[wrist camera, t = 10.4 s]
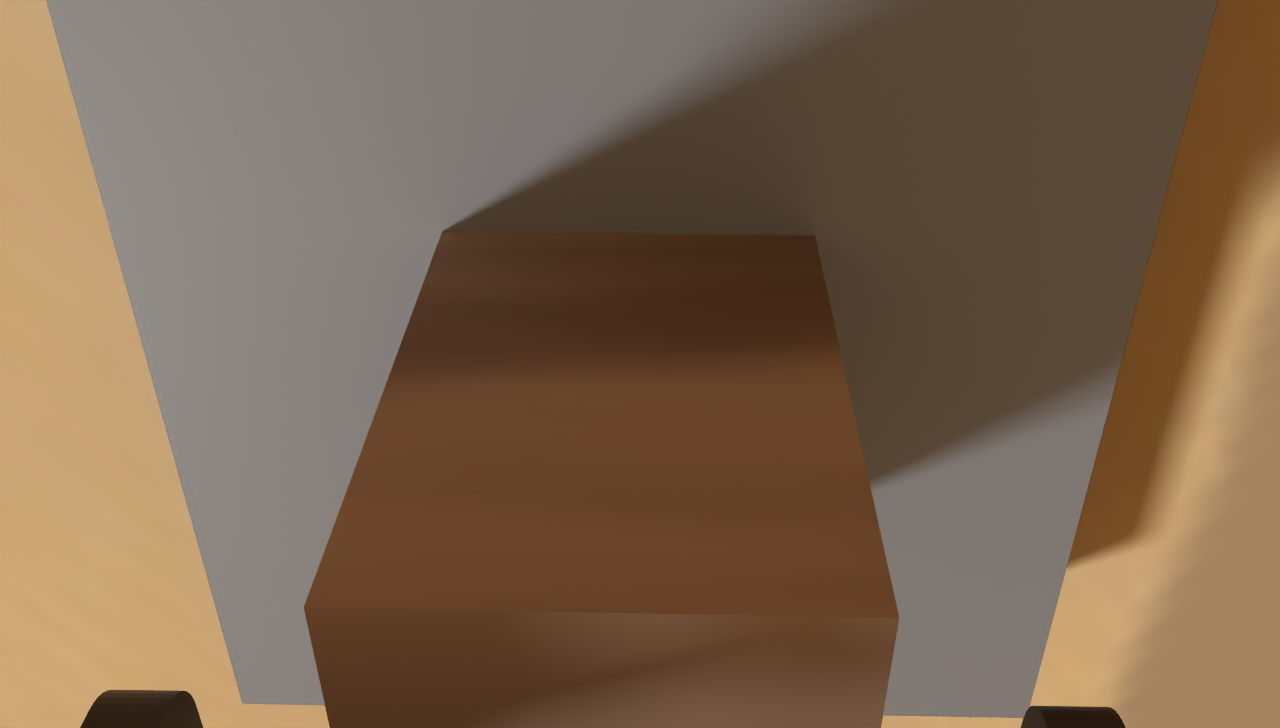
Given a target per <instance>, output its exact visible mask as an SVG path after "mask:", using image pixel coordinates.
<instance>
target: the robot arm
mask: <svg viewBox="0 0 1280 728" xmlns="http://www.w3.org/2000/svg"><path fill="white" fill-rule="evenodd" d="M80 728H203V726H202V723H201V719H200V716H199V713H198V710H197V707H196V704H195V702H194V699H193V697H192V696H191V694H189V693H188V692H186V691H154V690H108V691H106V692H104V693H102V694H101V695H100V696H99V697H98V698H97V699H96V700H95V702H94V703H93V705H92V707H91V708H90V710H89V712H88V714H87V716H86V718H85V720H84V722H83V723H82V725H81V727H80ZM1021 728H1125V726H1124V723H1123V721H1122V720H1121V718H1120V716H1119V715H1118V714H1117V712H1116V711H1115V710H1113V709H1112V708H1110V707H1071V706H1031V707H1029V708H1028V709H1027V711H1026V713H1025V715H1024V718H1023V722H1022V726H1021Z"/></svg>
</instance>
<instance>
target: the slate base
mask: <svg viewBox="0 0 1280 728" xmlns="http://www.w3.org/2000/svg"><path fill="white" fill-rule="evenodd" d="M46 1H47V5H48V8H49V12H50V16H51V19H52V23H53V26H54V30H55V33H56V37H57V41H58V44H59V48H60V51H61V55H62V59H63V62H64V66H65V69H66V73H67V76H68V80H69V84H70V87H71V91H72V94H73V98H74V102H75V105H76V109H77V112H78V116H79V119H80V123H81V127H82V130H83V134H84V137H85V141H86V145H87V148H88V152H89V155H90V159H91V162H92V166H93V170H94V173H95V177H96V180H97V184H98V188H99V191H100V195H101V198H102V202H103V205H104V209H105V213H106V216H107V220H108V223H109V227H110V231H111V234H112V238H113V241H114V245H115V248H116V252H117V256H118V259H119V263H120V266H121V270H122V274H123V277H124V281H125V284H126V288H127V291H128V295H129V299H130V302H131V306H132V309H133V313H134V317H135V320H136V324H137V327H138V331H139V334H140V338H141V342H142V345H143V349H144V352H145V356H146V360H147V363H148V367H149V370H150V374H151V377H152V381H153V385H154V388H155V392H156V395H157V399H158V403H159V406H160V410H161V413H162V417H163V420H164V424H165V428H166V431H167V435H168V438H169V442H170V446H171V449H172V453H173V456H174V460H175V463H176V467H177V471H178V474H179V478H180V481H181V485H182V488H183V492H184V496H185V499H186V503H187V506H188V510H189V514H190V517H191V521H192V524H193V528H194V531H195V535H196V539H197V542H198V546H199V549H200V553H201V557H202V560H203V564H204V567H205V571H206V574H207V578H208V582H209V585H210V589H211V592H212V596H213V600H214V603H215V607H216V610H217V614H218V617H219V621H220V625H221V628H222V632H223V635H224V639H225V643H226V646H227V650H228V653H229V657H230V660H231V664H232V668H233V671H234V675H235V678H236V682H237V686H238V689H239V693H240V696H241V700H242V703H243V704H288V705H325V703H324V698H323V694H322V689H321V684H320V680H319V675H318V671H317V666H316V662H315V657H314V652H313V648H312V643H311V639H310V634H309V630H308V625H307V620H306V616H305V611H304V605H305V602H306V600H307V597H308V594H309V591H310V589H311V586H312V583H313V581H314V578H315V575H316V572H317V570H318V567H319V564H320V562H321V559H322V556H323V553H324V551H325V548H326V545H327V543H328V540H329V537H330V534H331V532H332V529H333V526H334V524H335V521H336V518H337V515H338V513H339V510H340V507H341V505H342V502H343V499H344V496H345V494H346V491H347V488H348V486H349V483H350V480H351V477H352V475H353V472H354V469H355V467H356V464H357V461H358V458H359V456H360V453H361V450H362V448H363V445H364V442H365V439H366V437H367V434H368V431H369V429H370V426H371V423H372V420H373V418H374V415H375V412H376V410H377V407H378V404H379V401H380V399H381V396H382V393H383V391H384V388H385V385H386V382H387V380H388V377H389V374H390V372H391V369H392V366H393V363H394V361H395V358H396V355H397V353H398V350H399V347H400V344H401V342H402V339H403V336H404V334H405V331H406V328H407V325H408V323H409V320H410V317H411V315H412V312H413V309H414V306H415V304H416V301H417V298H418V296H419V293H420V290H421V287H422V285H423V282H424V279H425V277H426V274H427V271H428V268H429V266H430V263H431V260H432V257H433V255H434V252H435V249H436V247H437V244H438V241H439V238H440V236H441V233H442V231H447V232H536V233H625V234H714V235H803V236H815V238H816V242H817V247H818V251H819V256H820V260H821V265H822V269H823V274H824V278H825V283H826V288H827V292H828V297H829V301H830V306H831V310H832V315H833V319H834V324H835V328H836V333H837V337H838V342H839V346H840V351H841V356H842V360H843V365H844V369H845V374H846V378H847V383H848V387H849V392H850V396H851V401H852V405H853V410H854V415H855V419H856V424H857V428H858V433H859V437H860V442H861V446H862V451H863V455H864V460H865V464H866V469H867V473H868V478H869V483H870V487H871V492H872V496H873V501H874V505H875V510H876V514H877V519H878V523H879V528H880V532H881V537H882V541H883V546H884V551H885V555H886V560H887V564H888V569H889V573H890V578H891V582H892V587H893V591H894V596H895V600H896V605H897V609H898V614H899V623H898V629H897V635H896V641H895V647H894V653H893V659H892V665H891V671H890V677H889V682H888V688H887V694H886V700H885V706H884V712H883V715H894V716H949V717H1004V718H1024V715H1025V713H1026V711H1027V709H1028V708H1029V706H1030V703H1031V699H1032V695H1033V691H1034V688H1035V684H1036V680H1037V676H1038V673H1039V669H1040V665H1041V661H1042V658H1043V654H1044V650H1045V646H1046V643H1047V639H1048V635H1049V631H1050V628H1051V624H1052V620H1053V616H1054V613H1055V609H1056V605H1057V601H1058V598H1059V594H1060V590H1061V586H1062V583H1063V579H1064V575H1065V571H1066V568H1067V564H1068V560H1069V556H1070V553H1071V549H1072V545H1073V541H1074V538H1075V534H1076V530H1077V526H1078V523H1079V519H1080V515H1081V511H1082V508H1083V504H1084V500H1085V496H1086V493H1087V489H1088V485H1089V481H1090V478H1091V474H1092V470H1093V466H1094V463H1095V459H1096V455H1097V451H1098V448H1099V444H1100V440H1101V436H1102V433H1103V429H1104V425H1105V421H1106V418H1107V414H1108V410H1109V406H1110V403H1111V399H1112V395H1113V391H1114V388H1115V384H1116V380H1117V376H1118V373H1119V369H1120V365H1121V361H1122V358H1123V354H1124V350H1125V346H1126V343H1127V339H1128V335H1129V331H1130V328H1131V324H1132V320H1133V316H1134V313H1135V309H1136V305H1137V301H1138V298H1139V294H1140V290H1141V286H1142V283H1143V279H1144V275H1145V271H1146V268H1147V264H1148V260H1149V256H1150V253H1151V249H1152V245H1153V241H1154V238H1155V234H1156V230H1157V226H1158V223H1159V219H1160V215H1161V211H1162V208H1163V204H1164V200H1165V196H1166V193H1167V189H1168V185H1169V181H1170V178H1171V174H1172V170H1173V167H1174V163H1175V159H1176V155H1177V152H1178V148H1179V144H1180V140H1181V137H1182V133H1183V129H1184V125H1185V122H1186V118H1187V114H1188V110H1189V107H1190V103H1191V99H1192V95H1193V92H1194V88H1195V84H1196V80H1197V77H1198V73H1199V69H1200V65H1201V62H1202V58H1203V54H1204V50H1205V47H1206V43H1207V39H1208V35H1209V32H1210V28H1211V24H1212V20H1213V17H1214V13H1215V9H1216V5H1217V2H1218V0H46Z"/></svg>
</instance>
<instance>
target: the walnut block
mask: <svg viewBox="0 0 1280 728" xmlns="http://www.w3.org/2000/svg"><path fill="white" fill-rule="evenodd" d="M304 611H305V616H306V620H307V625H308V630H309V634H310V639H311V643H312V648H313V652H314V657H315V662H316V666H317V671H318V675H319V680H320V684H321V689H322V694H323V698H324V703H325V707H326V712H327V716H328V721H329V726H330V728H881V724H882V718H883V712H884V706H885V700H886V694H887V688H888V682H889V677H890V671H891V665H892V659H893V653H894V647H895V641H896V635H897V629H898V623H899V614H898V609H897V605H896V600H895V596H894V591H893V587H892V582H891V578H890V573H889V569H888V564H887V560H886V555H885V551H884V546H883V541H882V537H881V532H880V528H879V523H878V519H877V514H876V510H875V505H874V501H873V496H872V492H871V487H870V483H869V478H868V473H867V469H866V464H865V460H864V455H863V451H862V446H861V442H860V437H859V433H858V428H857V424H856V419H855V415H854V410H853V405H852V401H851V396H850V392H849V387H848V383H847V378H846V374H845V369H844V365H843V360H842V356H841V351H840V346H839V342H838V337H837V333H836V328H835V324H834V319H833V315H832V310H831V306H830V301H829V297H828V292H827V288H826V283H825V278H824V274H823V269H822V265H821V260H820V256H819V251H818V247H817V242H816V238H815V236H803V235H714V234H625V233H536V232H447V231H442V233H441V236H440V238H439V241H438V244H437V247H436V249H435V252H434V255H433V257H432V260H431V263H430V266H429V268H428V271H427V274H426V277H425V279H424V282H423V285H422V287H421V290H420V293H419V296H418V298H417V301H416V304H415V306H414V309H413V312H412V315H411V317H410V320H409V323H408V325H407V328H406V331H405V334H404V336H403V339H402V342H401V344H400V347H399V350H398V353H397V355H396V358H395V361H394V363H393V366H392V369H391V372H390V374H389V377H388V380H387V382H386V385H385V388H384V391H383V393H382V396H381V399H380V401H379V404H378V407H377V410H376V412H375V415H374V418H373V420H372V423H371V426H370V429H369V431H368V434H367V437H366V439H365V442H364V445H363V448H362V450H361V453H360V456H359V458H358V461H357V464H356V467H355V469H354V472H353V475H352V477H351V480H350V483H349V486H348V488H347V491H346V494H345V496H344V499H343V502H342V505H341V507H340V510H339V513H338V515H337V518H336V521H335V524H334V526H333V529H332V532H331V534H330V537H329V540H328V543H327V545H326V548H325V551H324V553H323V556H322V559H321V562H320V564H319V567H318V570H317V572H316V575H315V578H314V581H313V583H312V586H311V589H310V591H309V594H308V597H307V600H306V602H305V605H304Z"/></svg>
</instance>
